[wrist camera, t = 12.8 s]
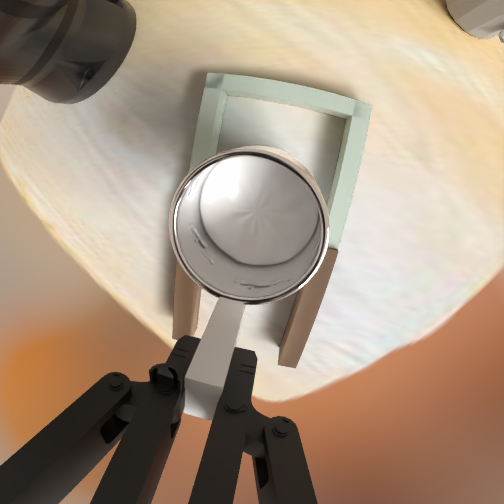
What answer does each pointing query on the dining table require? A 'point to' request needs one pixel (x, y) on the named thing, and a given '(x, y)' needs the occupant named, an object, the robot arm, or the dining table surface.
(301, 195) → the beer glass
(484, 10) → the water bottle
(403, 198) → the dining table surface
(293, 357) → the slot rails
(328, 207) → the pale green u-shaped frame
